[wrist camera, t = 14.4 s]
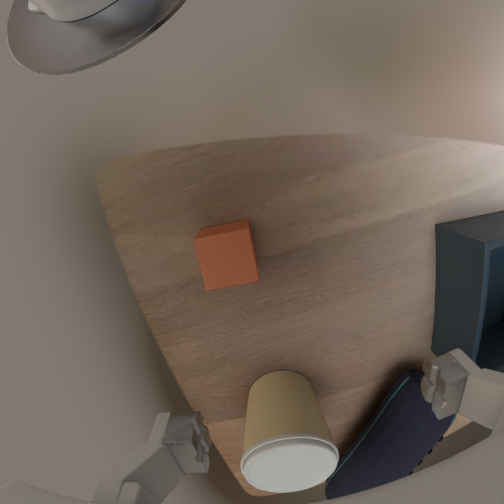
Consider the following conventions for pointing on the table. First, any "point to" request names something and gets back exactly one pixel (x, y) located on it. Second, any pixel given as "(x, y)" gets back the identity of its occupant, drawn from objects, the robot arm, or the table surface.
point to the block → (227, 255)
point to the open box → (471, 289)
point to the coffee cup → (286, 435)
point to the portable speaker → (390, 440)
